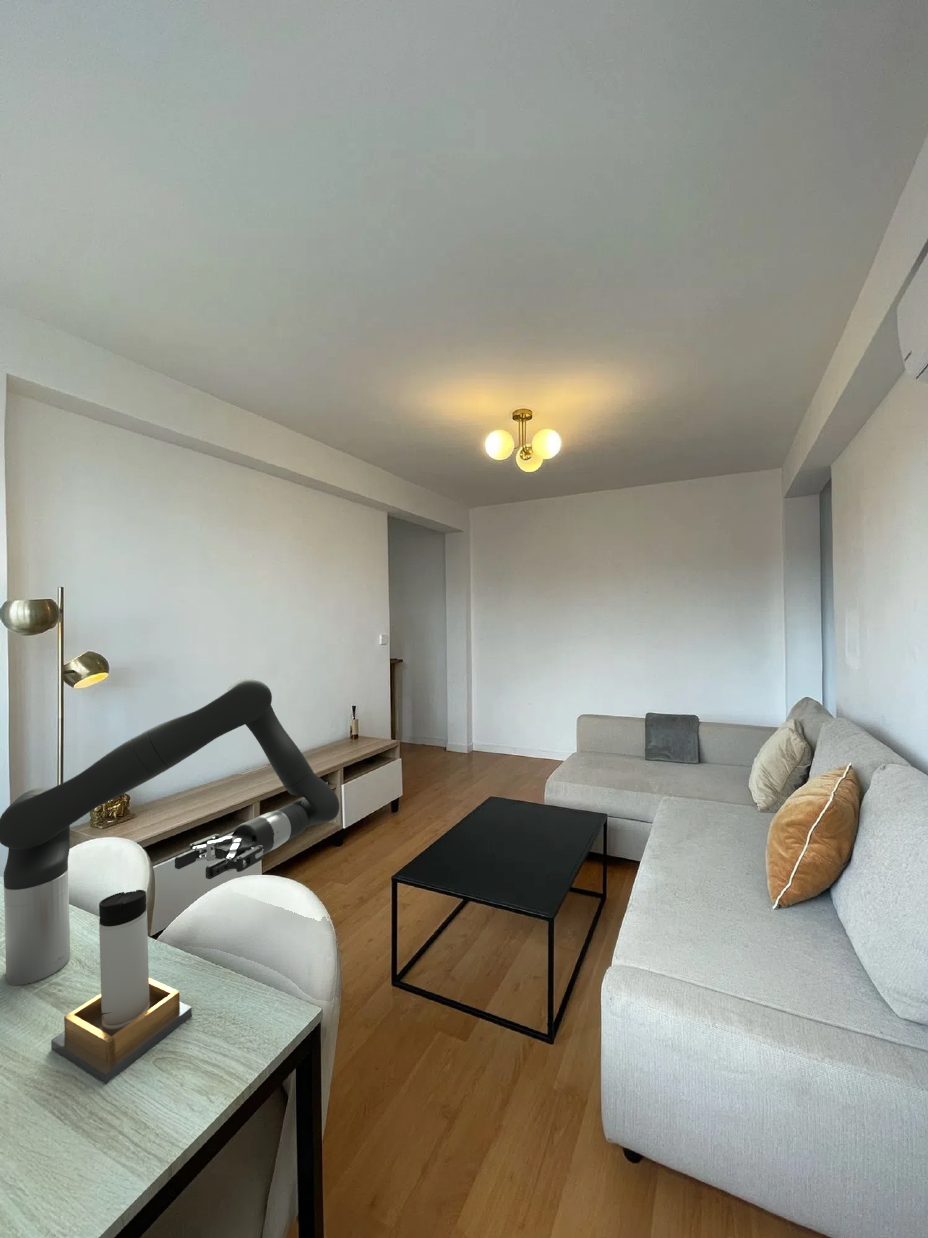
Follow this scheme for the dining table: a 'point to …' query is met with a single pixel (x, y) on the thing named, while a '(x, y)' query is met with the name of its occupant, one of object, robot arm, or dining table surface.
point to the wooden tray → (118, 1033)
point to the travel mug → (123, 959)
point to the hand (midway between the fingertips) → (191, 868)
